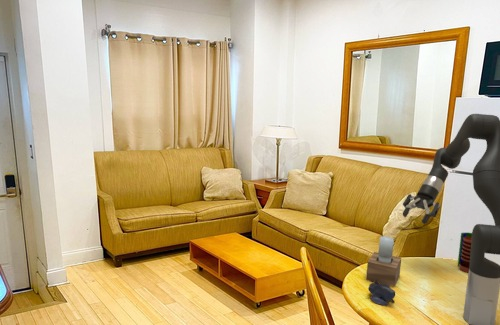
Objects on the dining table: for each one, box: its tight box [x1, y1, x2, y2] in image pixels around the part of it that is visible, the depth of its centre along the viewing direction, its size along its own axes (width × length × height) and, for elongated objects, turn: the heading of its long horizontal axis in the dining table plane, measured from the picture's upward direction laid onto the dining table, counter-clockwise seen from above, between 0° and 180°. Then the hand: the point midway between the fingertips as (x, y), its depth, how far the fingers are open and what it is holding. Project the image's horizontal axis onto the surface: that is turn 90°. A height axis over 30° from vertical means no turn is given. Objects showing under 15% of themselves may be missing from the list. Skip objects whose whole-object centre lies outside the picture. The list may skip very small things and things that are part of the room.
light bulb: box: [377, 236, 395, 264], centre depth 157 cm, size 5×5×14 cm
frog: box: [368, 279, 396, 307], centre depth 140 cm, size 9×11×7 cm
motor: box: [456, 232, 472, 274], centre depth 167 cm, size 10×9×20 cm
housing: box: [365, 251, 402, 288], centre depth 158 cm, size 12×11×8 cm
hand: (413, 219), depth 163 cm, fingers open, 8 cm apart
